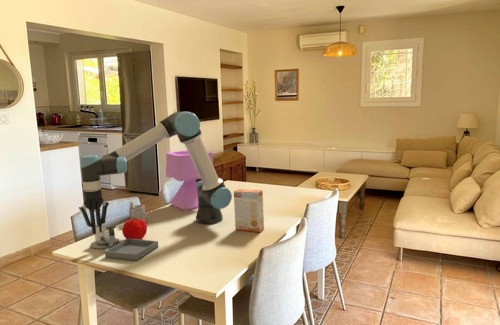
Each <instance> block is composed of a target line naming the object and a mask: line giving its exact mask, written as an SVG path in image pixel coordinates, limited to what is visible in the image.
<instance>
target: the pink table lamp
mask: <svg viewBox="0 0 500 325" xmlns="http://www.w3.org/2000/svg"><path fill="white" fill-rule="evenodd" d="M207 153H208V156H209V158H210V160H211V162H212V165H213V166H214V158H213V157H214V156H213V151H207ZM165 155H166V156H165V159H166V160H165V161H166V162H165V163H166V164H165V177H166V178H171V179H174V180H176V181H178V182H183V183H182V184H180V185H181V186H179V188H178V190H177V192H176V193H175V194H174V197H173V198H172V199H171V201H170V205H171V204H172V205H171V206H173V205H174V206H173V207H175V206H176V207H175V208H177V209H179V210H181V211H183V212H186V211H191V210H195V209H198V194H197V183H198V182H197V181H196V180H201V178H200V176H199V174H198V172H197V170H196V168H195V165H194V163H193V161H192V159H191V157H190V155H189V152H188V150H187V149H186V150H179V151H178V150H176V151H169V152H166V153H165Z"/></svg>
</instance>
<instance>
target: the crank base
mask: <svg viewBox="0 0 500 325" xmlns="http://www.w3.org/2000/svg"><path fill="white" fill-rule="evenodd" d="M115 242H116V243H113V244H109V243H107V242H106V241H105V240H99V241H97V240H94V241H92V243H91V244H90V247H91V249H93V250H105V249H110V248H112V247H114V246H116V245H117V244H119V243H121V241H120V239H119V238H117V237H115Z"/></svg>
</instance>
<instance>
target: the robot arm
mask: <svg viewBox="0 0 500 325" xmlns="http://www.w3.org/2000/svg"><path fill="white" fill-rule="evenodd" d="M174 136H177V138H178V140H179V142H180V143H181V144H183V145H184V146H185V148H186V150H188V152H189V155H190V157H191V159H192V161H193V163H194V165H195V168H196V170H197V172H198V174H199V176H200V180H199V181H198V182H197V194H198V208H197V210H196V211H197V212H196V215H195V222H196V223H197V224H203V225H210V224H216V223H220V222H222V221H223V220H224V219H223V216H224V215H223V213H222V210H223V209H225V208H228V206H229V205H230V204H231V201H232V198H233V194H232V192H231V190H230V189H229V188H228V187H226V184H225V182H224V180H223V179H222V178H220V177H219V176H218V173H217V171H216V169H215V167H214V164H213V165H212V162H211V160H210V158H209V156H208V153H207V152H208V151H207V149H206V146H205V145H204V142H203V140H202V138H201V137H202V131H201V121H200V119H199V117H198V116H197V115H196V114H195V113H194V112H191V111H186V110H185V111H176V112H173V113H171V114H170V115H168V116H167V117H165V118H164V119H162V120H160V121H159V122H158V124H157V125H156V126H154V127H152V128H150V129H149V130H147V131H146V132H144V133H142V134H141V135H139V136H137V137H135V138H134V139H132V140H130V141H128V142H127V143H125V144H124V145H122V146H120V147H118V148H117V149H115V150H113V151H112V152H110V153H106V154H104V155H102V156H101V157H100V158H99V156H98V155H97V154H89V155H83V156H81V157H80V159H79V160H80V172H81V180H82V189H83V197H84V199H83V200H84V202H83V205H82V206H79V207H78V210H79V211H80V212H81V214H82V216H83V218H84V221H85V224H86V226H87V227H89V228H91V232H92V234H93V235H94V241H96V240H97V241H99V240H101V239H100V232H102V229H101V228H102V226H103V225H104V224H105V223H106V217H107V210H108V207H109V205H110V203H109V202H108V201H105V200H104V198H103V193H102V192H103V190H102V189H101V188H102V181H101V176H109V175H111V176H112V175H118V174H119V175H121V174H125V173H127V171H128V161H130V160H131V159H133V158H135V157H137V156H138V155H139V154H142V153H143V152H144V151H146V150H148V149H150V148H152V147H153V146H155V145H156V144H158V143H160V142H161V141H163V140H165V139H170V138H172V137H174ZM101 207H102V209H101ZM86 208H87V210H88V211H89V214H88V213H87V211H86Z"/></svg>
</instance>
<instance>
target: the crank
mask: <svg viewBox="0 0 500 325" xmlns="http://www.w3.org/2000/svg"><path fill="white" fill-rule="evenodd" d="M115 228H117V226H116V224H115V225H111V226H107V227H106V226H105V227H101V229H102V232H100V239H101V240H105V241H106V242H107V243H109V244H113V243H116V242H115V238H116V234H115Z"/></svg>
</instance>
